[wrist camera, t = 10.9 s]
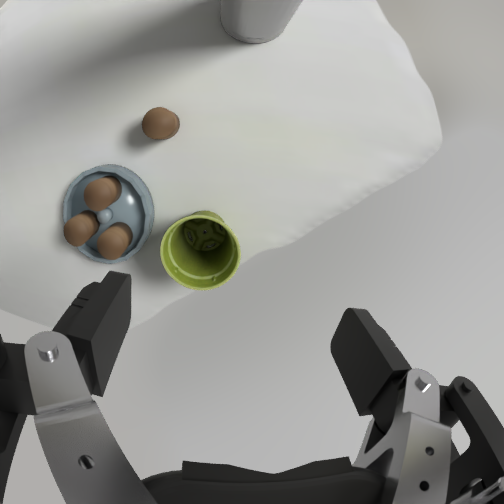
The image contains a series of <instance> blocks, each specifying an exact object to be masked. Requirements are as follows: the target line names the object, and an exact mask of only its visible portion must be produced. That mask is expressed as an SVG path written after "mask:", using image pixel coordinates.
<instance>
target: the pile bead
mask: <svg viewBox="0 0 504 504" xmlns="http://www.w3.org/2000/svg"><path fill="white" fill-rule="evenodd" d="M179 126H180V122H179V118H178V116H177V115H176V114H175V113H173V112H171V111H169V110H167V109H165V108H162V107H157V108H153V109H151V110H150V111H148V112H147V113H146V115H145V116H144V118H143V121H142V129H143V131H144V133H145V134H146V135H147V136H148V137H150V138H152V139H168V138H171V137H173V136H174V135H175V134H176V133H177V131H178V129H179Z"/></svg>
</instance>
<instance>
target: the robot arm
mask: <svg viewBox="0 0 504 504" xmlns="http://www.w3.org/2000/svg"><path fill="white" fill-rule="evenodd" d="M302 1H303V0H221V23H222V26H223V27H224V29H225V30H226V32H227V33H228V34H229V35H231V36H232V37H234V38H236V39H238V40H240V41H243V42H247V43H264V42H268V41H271V40H273V39H275V38H276V37H278V36H279V35H280V34H281V33H282V32H283V31H284V29H285V27H286V26H287V24H288V23H289V21H290V20H291V18H292V17H293V15H294V13H295V12H296V10H297V9H298V7H299V6H300V4H301V3H302ZM130 319H131V275H130V274H125V273H120V272H115V271H109V272H108V274H107V275H106V276H105V278H104V279H103V280H102V282H101V283H99V282H93V283H91V284H89V285H87V286H86V287H84V288H83V289H82V290H81V292H80V293H79V294H78V295H77V298H75V299H74V301H73V302H72V303H71V306H69V307H68V309H67V310H66V312H65V313H64V314H63V316H62V317H61V318H60V320H59V321H58V323H57V324H56V326H55V327H54V328H53V330H52V331H44V332H41V333H38V334H35V335H34V336H32V337H31V338H30V339H29V340H28V341H27V343H26V344H15V343H4V342H3V340H2V337H1V334H0V504H2V503H3V498H4V493H5V487H6V483H7V479H8V475H9V471H10V467H11V463H12V460H13V456H14V453H15V449H16V446H17V443H18V440H19V437H20V434H21V431H22V428H23V425H24V423H25V420H26V417H27V415H34V422H35V426H36V430H37V433H38V436H39V439H40V442H41V445H42V448H43V451H44V454H45V456H46V459H47V462H48V464H49V467H50V469H51V472H52V474H53V476H54V479H55V481H56V483H57V485H58V487H59V489H60V492H61V494H62V496H63V498H64V500H65V502H66V504H504V428H503V426H502V424H501V423H500V421H499V420H498V418H497V417H496V415H495V414H494V412H493V410H492V409H491V407H490V406H489V404H488V403H487V401H486V400H485V399H484V397H483V396H482V394H481V393H480V391H479V390H478V389H477V387H476V386H475V385H474V384H473V382H471V381H470V380H469V379H467V378H465V377H461V376H458V377H456V378H455V379H454V380H453V381H452V383H451V384H450V385H449V386H441V385H439V384H438V382H437V381H436V379H435V378H434V377H433V376H432V375H431V374H430V373H428V372H427V371H424V370H422V369H412V368H411V367H410V365H409V364H408V362H407V361H406V360H405V358H404V357H403V355H402V353H401V352H400V351H399V349H398V348H397V347H395V344H394V342H393V341H392V340H390V339H391V338H390V337H389V336H388V334H387V333H386V331H385V330H384V329H383V328H381V327H380V326H379V325H378V324H377V323H376V321H375V320H374V319H373V318H372V316H371V315H370V313H369V312H368V311H367V310H365V309H356V308H348V309H346V311H345V312H344V314H343V316H342V319H341V321H340V323H339V325H338V327H337V329H336V331H335V334H334V336H333V338H332V341H331V353H332V356H333V358H334V360H335V363H336V365H337V367H338V369H339V371H340V373H341V376H342V378H343V380H344V382H345V384H346V386H347V389H348V391H349V393H350V396H351V398H352V400H353V402H354V404H355V407H356V409H357V411H358V414H359V416H365V415H371V414H372V415H373V417H374V418H373V419H372V420H371V421H370V423H369V425H368V428H367V431H366V434H365V437H364V440H363V443H362V446H361V448H360V451H359V454H358V456H357V459H356V461H355V462H354V464H353V465H351V462H350V459H349V457H342V458H336V459H329V460H322V461H315V462H311V463H308V464H306V465H303V466H300V467H297V468H294V469H290V470H287V471H284V472H281V473H276V474H270V473H265V472H259V471H254V470H249V469H245V468H240V467H236V466H232V465H227V464H210V463H199V462H189V461H183V463H182V470H180V471H170V472H165V473H160V474H157V475H153V476H150V477H148V478H145V479H143V480H140V479H139V477H138V476H137V474H136V473H135V471H134V470H133V468H132V466H131V465H130V463H129V462H128V460H127V459H126V457H125V455H124V454H123V452H122V450H121V449H120V447H119V445H118V443H117V442H116V440H115V438H114V436H113V434H112V433H111V431H110V429H109V427H108V425H107V423H106V421H105V419H104V417H103V415H102V413H101V411H100V409H99V407H98V405H97V403H96V402H95V401H93V399H92V397H91V395H92V394H94V395H97V396H101V397H103V394H104V391H105V388H106V385H107V383H108V380H109V377H110V374H111V372H112V369H113V366H114V363H115V361H116V358H117V356H118V353H119V350H120V348H121V345H122V343H123V340H124V338H125V335H126V333H127V330H128V328H129V324H130ZM458 420H460V421H461V423H462V424H463V426H464V428H465V430H466V431H467V433H468V435H469V437H470V446H469V448H468V449H467V450H466V451H465V452H464V453H463V454H462V455H461V456H460V455H459V453H458V451H457V449H456V447H455V445H454V443H453V442H452V439H451V428H452V427H453V426H454V425H455V424H456V423H457V422H458ZM481 479H482V480H481ZM480 480H481V481H480Z"/></svg>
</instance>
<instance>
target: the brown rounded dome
mask: <svg viewBox="0 0 504 504" xmlns="http://www.w3.org/2000/svg"><path fill="white" fill-rule="evenodd" d="M121 193H122V185H121V183H120V181H119V180H118V179H117V178H116V177H114V176H111V175H108V176H105V177H102V178H100V179H97V180H94V181H92V182H90V183H89V184H88V185H87V186H86V188H85V190H84V201H85V203H86V205H87V206H88V207H89V208H90V209H91V210H93V211H102V210H104V209H105V208H107V207H108V206H110V205H111V204H113V203H114V202H116V201H117V200H118V199H119V198H120V196H121Z"/></svg>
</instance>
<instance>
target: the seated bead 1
mask: <svg viewBox="0 0 504 504" xmlns="http://www.w3.org/2000/svg"><path fill="white" fill-rule="evenodd" d="M99 227H100V222H99V221H98V219H97V215H96V214H95V213H94V212H93V211H90V210H84V211H82V212H81V213H79V214H78V215H76V216H74V217H73V218H71V219H70V220H68V221H67V222H66V223H65V225H64V236H65V238H66V240H67V241H68V242H69V243H70V244H71V245H73V246H76V247H79V246H82V245H83V244H84V243H85V242H86V241H88V240H89V239H90V238H91V237H92V236H93V235H95V234H96V233H97V232H98V230H99Z"/></svg>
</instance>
